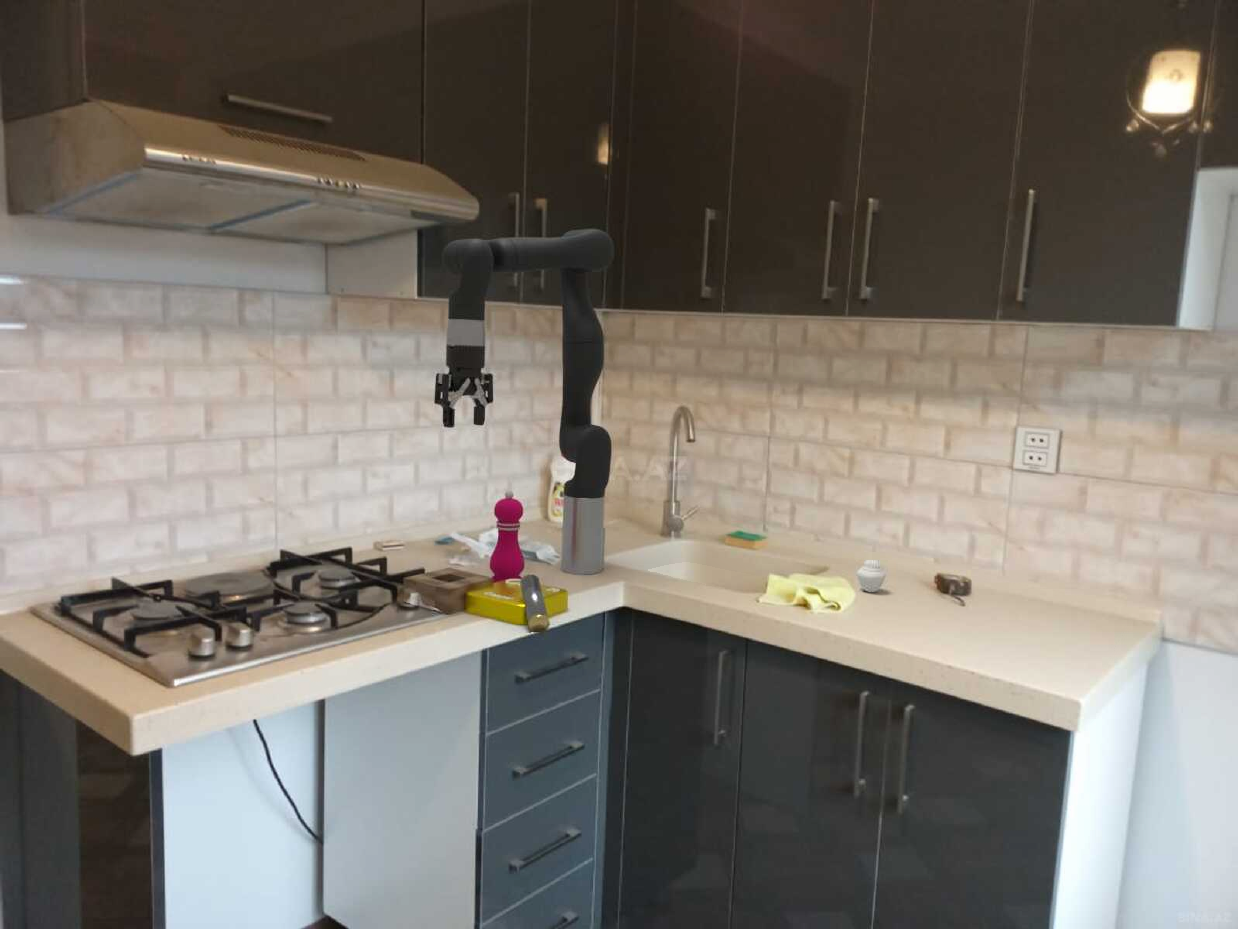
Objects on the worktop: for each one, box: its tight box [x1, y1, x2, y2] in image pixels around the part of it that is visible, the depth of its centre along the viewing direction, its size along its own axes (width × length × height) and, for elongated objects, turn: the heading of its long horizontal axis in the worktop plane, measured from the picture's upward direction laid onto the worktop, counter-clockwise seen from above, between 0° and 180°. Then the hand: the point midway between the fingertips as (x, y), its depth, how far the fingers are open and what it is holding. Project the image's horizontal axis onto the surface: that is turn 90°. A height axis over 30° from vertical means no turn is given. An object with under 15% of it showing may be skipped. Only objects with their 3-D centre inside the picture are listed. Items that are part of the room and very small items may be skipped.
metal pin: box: [520, 574, 551, 634], centre depth 170 cm, size 4×4×12 cm
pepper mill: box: [489, 490, 525, 583], centre depth 196 cm, size 7×7×20 cm
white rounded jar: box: [856, 558, 886, 593], centre depth 206 cm, size 6×6×7 cm
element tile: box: [464, 579, 569, 626], centre depth 178 cm, size 15×15×5 cm
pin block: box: [402, 567, 493, 616], centre depth 181 cm, size 12×12×5 cm
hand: (464, 426), depth 186 cm, fingers open, 8 cm apart
